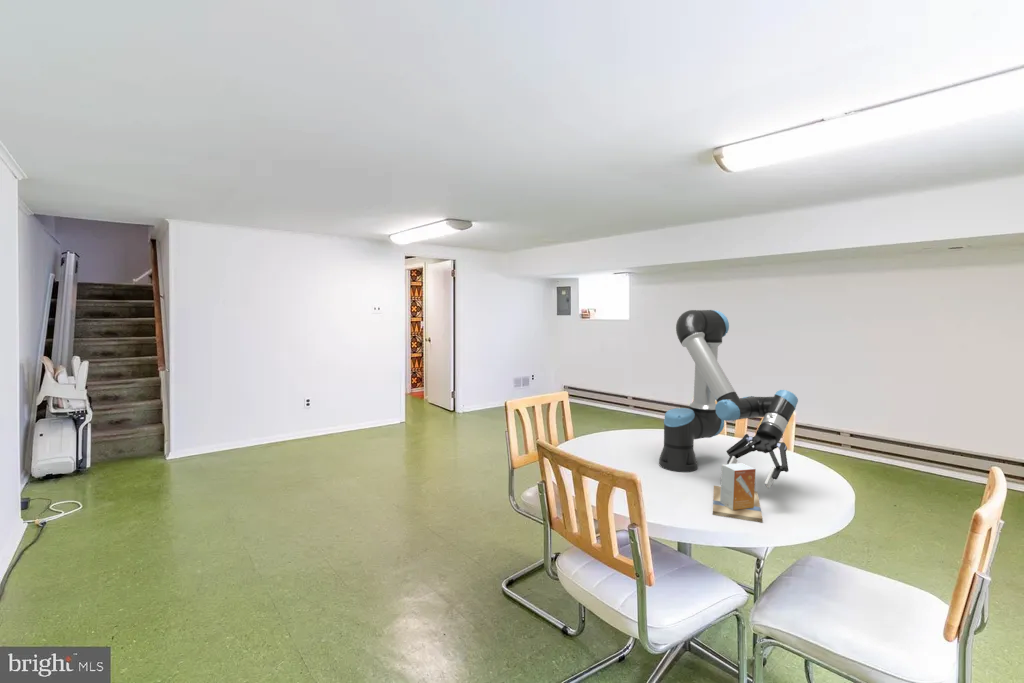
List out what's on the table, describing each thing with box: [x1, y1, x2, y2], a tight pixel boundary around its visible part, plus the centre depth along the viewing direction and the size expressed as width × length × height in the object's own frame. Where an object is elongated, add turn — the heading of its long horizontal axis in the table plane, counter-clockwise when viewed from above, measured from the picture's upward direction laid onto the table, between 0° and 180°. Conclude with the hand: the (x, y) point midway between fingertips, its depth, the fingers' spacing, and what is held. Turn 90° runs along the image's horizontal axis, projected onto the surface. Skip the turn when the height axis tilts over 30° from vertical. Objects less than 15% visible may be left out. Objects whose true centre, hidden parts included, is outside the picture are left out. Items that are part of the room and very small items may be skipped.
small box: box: [720, 462, 756, 510], centre depth 154 cm, size 8×6×13 cm
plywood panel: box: [712, 485, 764, 523], centre depth 159 cm, size 14×24×1 cm, turn 156°
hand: (746, 479), depth 159 cm, fingers open, 13 cm apart
